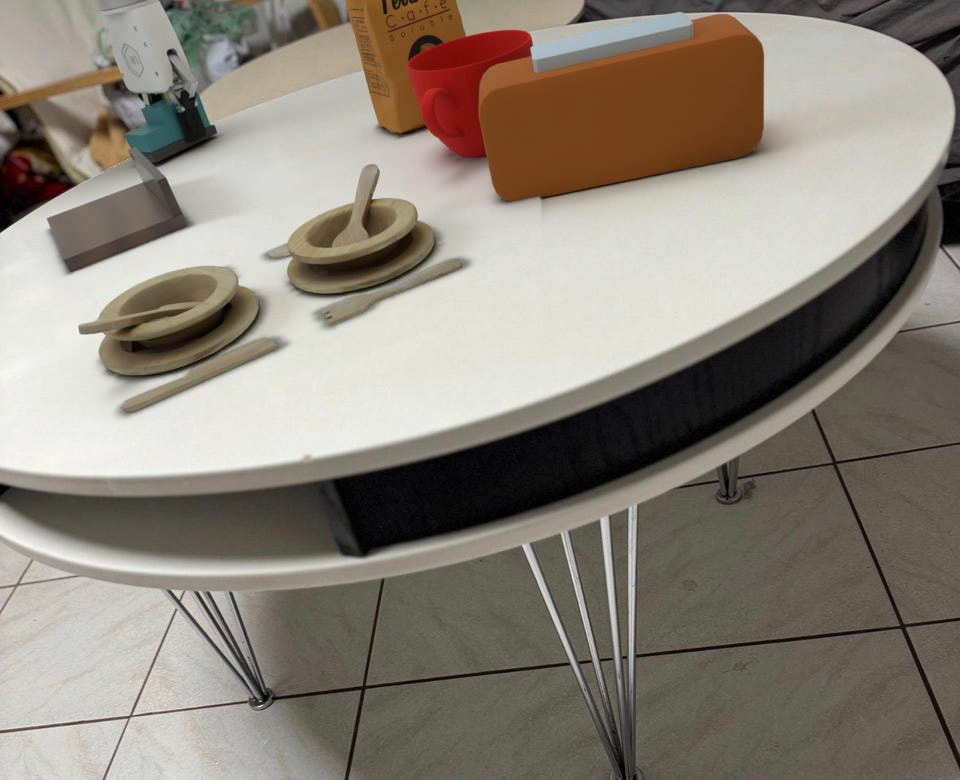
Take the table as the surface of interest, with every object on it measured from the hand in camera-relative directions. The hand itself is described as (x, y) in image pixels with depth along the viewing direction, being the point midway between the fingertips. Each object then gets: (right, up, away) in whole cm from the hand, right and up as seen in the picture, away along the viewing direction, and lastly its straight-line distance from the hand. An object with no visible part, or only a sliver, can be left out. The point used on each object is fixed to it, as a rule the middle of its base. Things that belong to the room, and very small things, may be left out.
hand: (184, 137), depth 115 cm
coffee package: (+36, -4, -13) cm, 38 cm away
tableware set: (+24, -32, -45) cm, 60 cm away
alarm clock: (+55, -18, -38) cm, 70 cm away
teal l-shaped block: (-1, -2, -1) cm, 2 cm away
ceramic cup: (+42, -13, -28) cm, 52 cm away
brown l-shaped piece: (0, -19, -21) cm, 29 cm away
